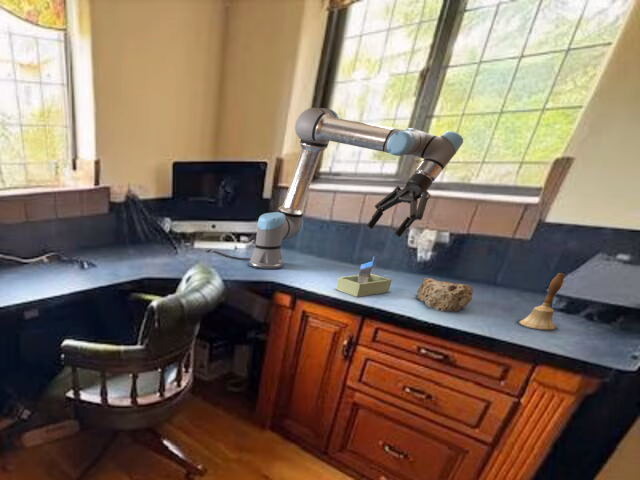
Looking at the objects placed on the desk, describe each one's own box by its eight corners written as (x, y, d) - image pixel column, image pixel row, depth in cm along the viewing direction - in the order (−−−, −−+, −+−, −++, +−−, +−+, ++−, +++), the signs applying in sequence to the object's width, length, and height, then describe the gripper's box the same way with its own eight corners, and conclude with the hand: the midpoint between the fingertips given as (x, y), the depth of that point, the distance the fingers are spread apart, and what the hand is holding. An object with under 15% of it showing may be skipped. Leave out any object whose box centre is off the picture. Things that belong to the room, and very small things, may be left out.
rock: (407, 295, 160) (422, 270, 155) (447, 307, 157) (463, 281, 153) (424, 307, 142) (441, 278, 137) (470, 320, 139) (488, 291, 135)
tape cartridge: (355, 285, 168) (363, 253, 162) (366, 286, 167) (374, 254, 161) (354, 291, 161) (362, 258, 155) (366, 292, 160) (374, 259, 154)
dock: (335, 289, 167) (338, 277, 164) (366, 284, 171) (369, 273, 169) (356, 296, 158) (360, 284, 155) (388, 291, 162) (392, 279, 160)
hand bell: (514, 319, 134) (536, 269, 126) (545, 321, 132) (570, 270, 124) (527, 329, 127) (551, 276, 119) (560, 331, 125) (588, 278, 117)
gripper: (459, 188, 146) (414, 243, 153) (400, 179, 166) (363, 228, 173) (449, 176, 142) (405, 233, 149) (391, 168, 162) (353, 219, 169)
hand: (382, 230), depth 161 cm, fingers open, 13 cm apart
